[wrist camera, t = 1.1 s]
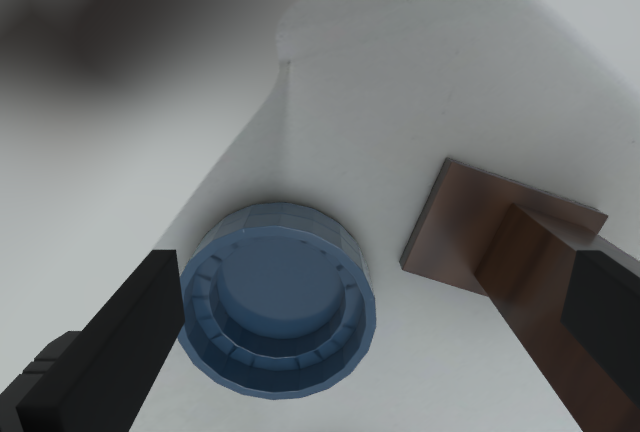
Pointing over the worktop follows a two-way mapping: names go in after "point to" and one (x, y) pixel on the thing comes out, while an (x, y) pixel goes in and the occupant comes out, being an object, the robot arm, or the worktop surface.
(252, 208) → the bowl
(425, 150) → the worktop surface
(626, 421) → the stand
